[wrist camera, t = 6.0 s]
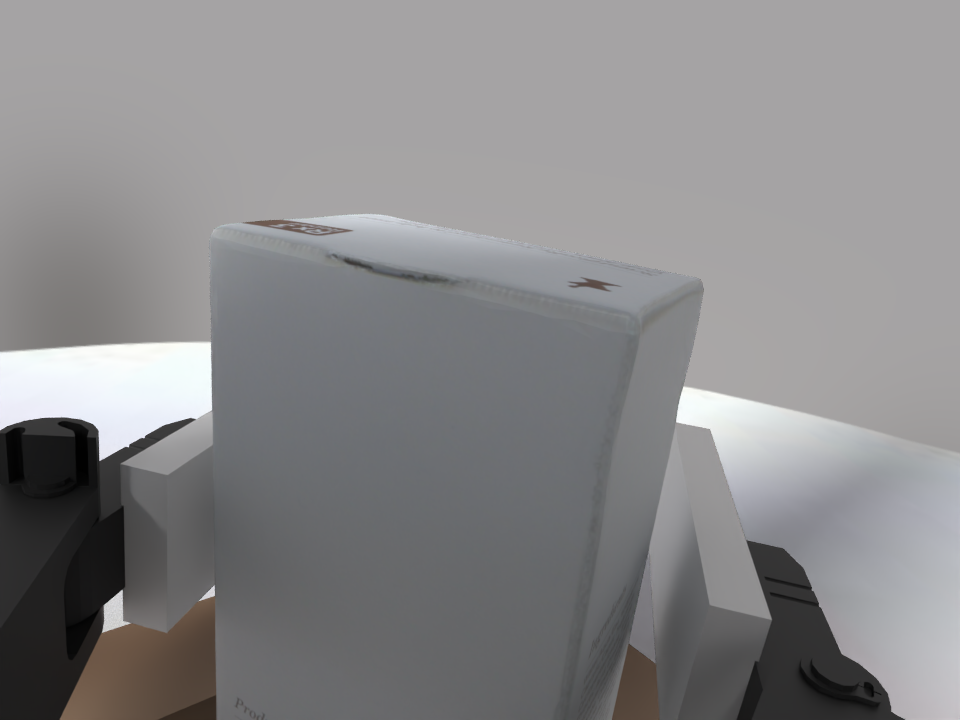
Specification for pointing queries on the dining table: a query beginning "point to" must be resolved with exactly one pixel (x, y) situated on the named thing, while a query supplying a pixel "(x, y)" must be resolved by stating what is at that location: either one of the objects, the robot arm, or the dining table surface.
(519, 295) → the skincare box
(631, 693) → the socket block
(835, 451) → the dining table surface
